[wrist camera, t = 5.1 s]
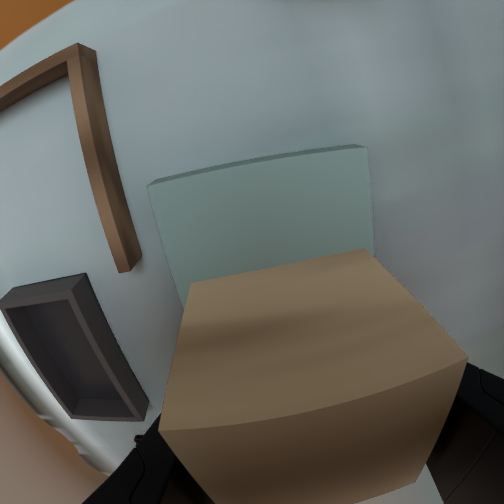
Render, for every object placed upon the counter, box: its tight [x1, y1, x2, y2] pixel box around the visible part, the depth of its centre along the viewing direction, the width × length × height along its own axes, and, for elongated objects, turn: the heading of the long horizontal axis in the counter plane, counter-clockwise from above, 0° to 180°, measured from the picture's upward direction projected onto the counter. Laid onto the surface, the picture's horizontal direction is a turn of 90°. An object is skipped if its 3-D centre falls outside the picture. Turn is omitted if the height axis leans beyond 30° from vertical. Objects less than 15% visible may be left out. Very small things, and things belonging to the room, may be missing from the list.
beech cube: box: [158, 248, 468, 504], centre depth 7 cm, size 5×5×5 cm
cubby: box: [0, 43, 142, 273], centre depth 16 cm, size 14×18×2 cm
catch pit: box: [0, 273, 149, 421], centre depth 21 cm, size 13×8×2 cm, turn 10°
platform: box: [147, 144, 374, 310], centre depth 20 cm, size 16×12×2 cm
